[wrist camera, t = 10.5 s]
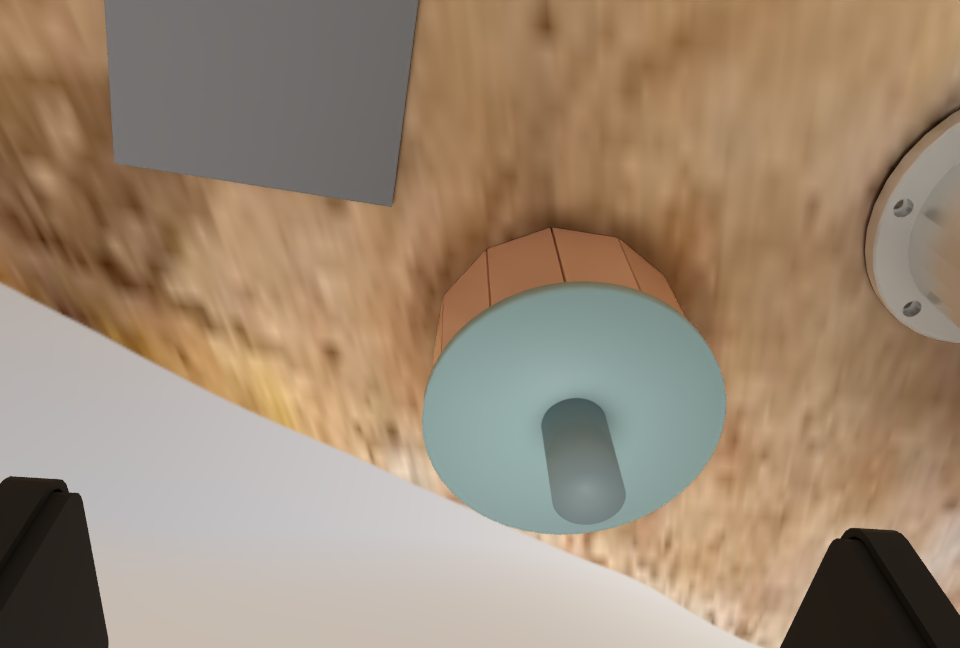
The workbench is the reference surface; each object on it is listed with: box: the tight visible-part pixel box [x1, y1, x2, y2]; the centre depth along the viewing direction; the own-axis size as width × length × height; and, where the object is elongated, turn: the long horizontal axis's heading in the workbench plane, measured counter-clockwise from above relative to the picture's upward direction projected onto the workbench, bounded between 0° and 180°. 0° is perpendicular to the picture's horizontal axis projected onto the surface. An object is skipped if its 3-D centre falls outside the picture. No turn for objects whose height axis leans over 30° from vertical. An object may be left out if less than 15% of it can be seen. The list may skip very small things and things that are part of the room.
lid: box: [422, 281, 726, 535], centre depth 31 cm, size 13×13×5 cm
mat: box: [104, 0, 419, 207], centre depth 32 cm, size 12×10×1 cm
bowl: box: [433, 227, 684, 366], centre depth 36 cm, size 12×12×6 cm
